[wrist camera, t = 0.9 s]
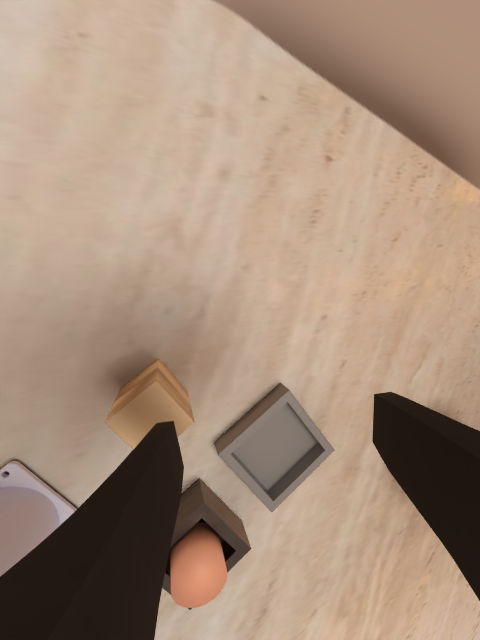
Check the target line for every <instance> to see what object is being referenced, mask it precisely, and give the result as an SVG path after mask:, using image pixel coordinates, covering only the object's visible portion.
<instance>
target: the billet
mask: <svg viewBox="0 0 480 640" xmlns="http://www.w3.org/2000/svg"><path fill="white" fill-rule="evenodd" d="M168 421H174V424H175V429H176V433H177V436H179V435H180V434H181V433H182V432H183V431H184V430H186V429H187V428H188V427H189V426H190V425H191V424H192V423H194V419H193V414H192V410H191V405H190V401H189V396H188V392H187V390H186V389H185V388H184V387H183V386H182V385H181V384H180V382H179V381H178V380H177V379H176V378H175V377H174V376H173V375H172V373H171V372H170V371H169V370H168V369H167V368H166V367H165V366H164V365H163V363H162V362H161V361H160V360H159V359H158V360H157V361H155V362H154V363H153V364H152V365H150V366H149V367H148V368H147V369H145V370H144V371H143V372H142V373H140V374H139V375H138V376H137V377H135V378H134V379H133V380H132V381H130V382H129V383H128V384H127V385H125V386H124V387H123V388H122V389H120V391H119V394H118V396H117V398H116V400H115V402H114V404H113V406H112V408H111V410H110V413H109V415H108V417H107V419H106V421H105V423H106V424H107V425H108V426H109V427H110V428H111V429H112V430H113V431H114V432H115V433H116V434H117V435H118V436H120V437H121V438H122V439H123V440H124V441H125V442H126V443H127V444H128V445H129V446H130V447H131V448H132V449H133V450H134V448H135V447H136V446H137V445H138V444H139V443H140V441H141V440H142V439H143V438H144V437H145V436H146V434H147V433H148V432H149V431H150V430H151V429H152V427H153V426H154V425H155V424H156V423H160V422H168Z"/></svg>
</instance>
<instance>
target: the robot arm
mask: <svg viewBox="0 0 480 640" xmlns="http://www.w3.org/2000/svg"><path fill="white" fill-rule="evenodd" d="M373 443H374V445H375V447H376V449H377V450H378V452H379V454H380V456H381V458H382V459H383V461H384V463H385V464H386V466H387V468H388V469H389V471H390V472H391V474H392V475H393V477H394V478H395V479H396V481H397V482H398V483H399V485H400V486H401V488H402V489H403V490H404V492H405V493H406V494H407V496H408V497H409V499H410V500H411V501H412V503H413V504H414V505H415V507H416V508H417V509H418V511H419V512H420V513H421V515H422V516H423V517H424V519H425V520H426V522H427V523H428V524H429V526H430V527H431V528H432V530H433V531H434V532H435V534H436V535H437V536H438V538H439V539H440V541H441V542H442V543H443V545H444V546H445V548H446V549H447V551H448V552H449V553H450V555H451V556H452V558H453V559H454V561H455V562H456V564H457V565H458V567H459V569H460V570H461V572H462V573H463V575H464V577H465V578H466V580H467V581H468V583H469V585H470V586H471V588H472V589H473V591H474V593H475V594H476V596H477V597H478V599H479V600H480V431H478V430H476V429H473V428H471V427H469V426H467V425H464V424H462V423H460V422H458V421H455V420H453V419H451V418H449V417H447V416H444V415H442V414H440V413H438V412H436V411H433V410H431V409H429V408H427V407H425V406H423V405H420V404H418V403H416V402H414V401H412V400H409V399H407V398H405V397H403V396H400V395H398V394H395V393H393V392H387V393H379V394H374V417H373ZM183 470H184V466H183V461H182V457H181V452H180V447H179V443H178V438H177V433H176V429H175V424H174V421H168V422H160V423H156V424H155V425H154V426H153V427H152V429H151V430H150V431H149V432H148V433H147V434H146V436H145V437H144V438H143V439H142V440H141V441H140V443H139V444H138V445H137V446H136V447H135V448H134V450H133V451H132V452H131V453H130V454H129V455H128V456H127V457H126V459H125V460H124V461H123V462H122V463H121V464H120V465H119V467H118V468H117V469H116V470H115V471H114V472H113V473H112V474H111V475H110V476H109V477H108V478H107V479H106V480H105V481H104V482H103V483H102V485H101V486H100V487H99V488H98V489H97V490H96V491H95V492H94V493H93V494H92V495H91V496H90V497H89V498H88V499H87V500H86V501H85V502H84V503H83V504H82V505H81V506H80V507H79V508H78V509H76V508H75V507H74V506H72V505H71V504H70V503H69V502H67V501H66V500H65V499H64V498H63V497H61V496H60V495H59V494H58V493H56V492H55V491H54V490H53V489H51V488H50V487H49V486H48V485H47V484H45V483H44V482H43V481H42V480H40V479H39V478H38V477H37V476H35V475H34V474H33V473H32V472H31V471H29V470H28V469H27V468H26V467H24V466H23V465H22V464H21V463H19V462H18V461H11V462H9V463H8V464H7V465H5V466H4V467H3V468H2V469H0V640H154V637H155V629H156V622H157V615H158V608H159V601H160V596H161V590H162V585H163V580H164V575H165V570H166V566H167V561H168V556H169V552H170V547H171V542H172V538H173V533H174V528H175V524H176V519H177V514H178V509H179V504H180V499H181V491H182V481H183ZM4 471H7V472H9V474H5V473H4Z"/></svg>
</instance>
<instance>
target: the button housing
mask: <svg viewBox="0 0 480 640" xmlns="http://www.w3.org/2000/svg"><path fill="white" fill-rule="evenodd" d="M201 518H202V519H203V520H204V521H205V522H207V523H208V524H209V525H210V526H211V527H212V528H213V529H214V530H215V531H216V532H217V533H218V534H219V537H220V541H221V546H222V550H223V555H224V559H225V564H226V568H227V572H228V571H229V570H230V569H231V568H232V567H233V566H234V565H235V564H236V563H237V562H238V561H239V560H240V559H241V558H242V557H243V556H244V555H245V554H246V553H247V552H248V551H249V550H250V549H251V547H250V544H249V541H248V538H247V535H246V532H245V529H244V526H243V523H242V521H241V520H240V519H239V518H238V517H237V516H236V515H235V514H234V513H233V512H232V511H231V510H230V509H229V508H228V507H227V506H226V505H225V504H224V503H223V502H222V500H221V499H220V498H219V497H218V496H217V495H216V494H215V493H214V492H213V491H212V490H211V489H210V488H209V487H208V486H207V485H206V484H205V483H204V482H203V481H202V480H201V479H200V478H199V479H198V480H197V481H196V482H195V483H194V484H193V485H192V486H190V487H189V488H188V489H187V490H186V491H185V492H184V493H183V494H182V495H181V499H180V504H179V509H178V514H177V519H176V524H175V528H174V533H173V538H172V542H171V547H172V546H173V545H174V544H175V543H176V542H177V541H178V540H179V539H180V538H181V537H182V536H183V535H184V534H185V533H186V532H188V531H189V530H190V529H191V528H192V527H193V526H194V525H195V524H196V523H197V522H198V521H199V520H200V519H201ZM171 547H170V549H171ZM162 588H163V589H165V590H166V591H167V592H168V593H170V594H171V570H170V552H169V556H168V561H167V566H166V570H165V575H164V580H163V585H162ZM188 609H190V610H191V609H192V608H188Z"/></svg>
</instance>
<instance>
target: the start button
mask: <svg viewBox="0 0 480 640" xmlns="http://www.w3.org/2000/svg"><path fill="white" fill-rule="evenodd" d="M170 570H171V595H172V597H173V599H174V601H175V602H176V603H177V604H178V605H180V606H182V607H186V608H195V607H200V606H202V605H205V604H207V603H208V602H210V601H211V600H213V599H214V598H215V597H216V596H217V595H218V594H219V593H220V592H221V590H222V589H223V587H224V585H225V582H226V579H227V568H226V564H225V559H224V555H223V550H222V546H221V541H220V537H219V534H218V533H217V532H216V531H215V530H214V529H213V528H212V527H211V526H210V525H209V524H207V523H196V524H195V525H194V526H193V527H192V528H191V529H190V530H189V531H188V532H186V533H185V534H184V535H183V536H182V537H181V538H180V539H179V540H178V541H177V542H176V543H175V544H174V545H173V546H172V547H171V549H170Z"/></svg>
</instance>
